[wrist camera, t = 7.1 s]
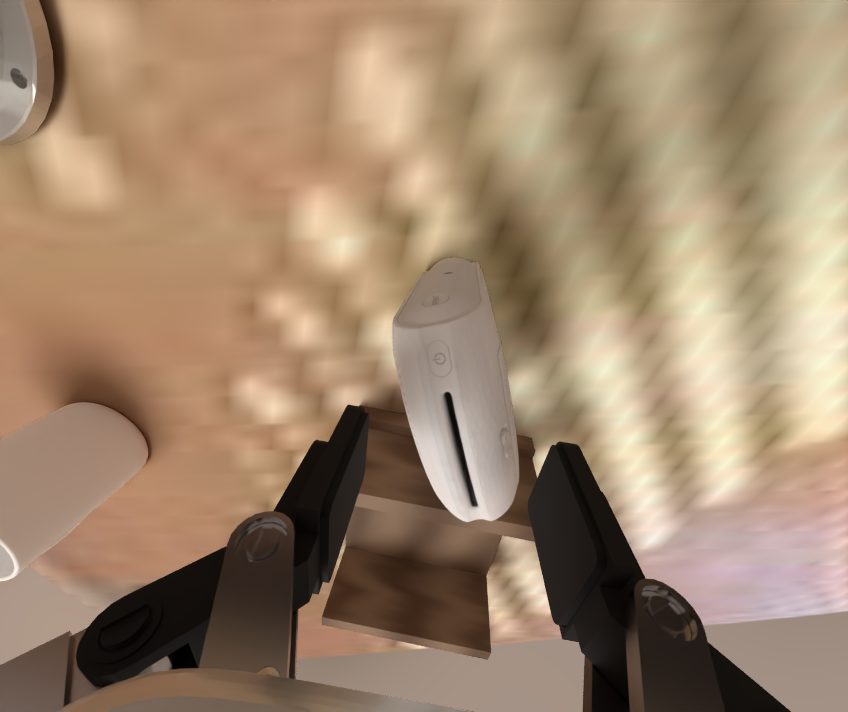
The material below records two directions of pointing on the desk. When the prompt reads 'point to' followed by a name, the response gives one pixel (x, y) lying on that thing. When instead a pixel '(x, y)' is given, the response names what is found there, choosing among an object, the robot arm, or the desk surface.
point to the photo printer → (457, 390)
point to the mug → (61, 476)
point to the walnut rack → (419, 550)
